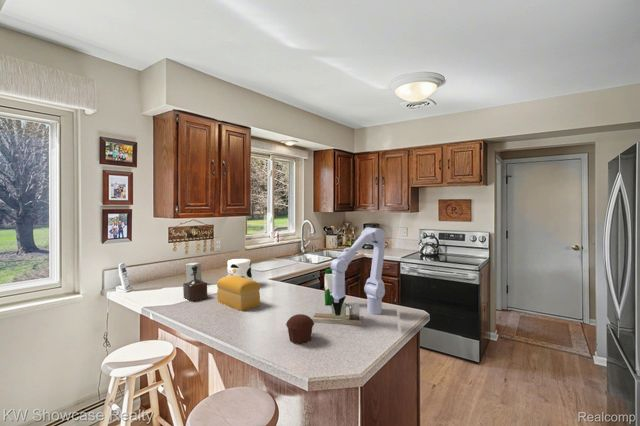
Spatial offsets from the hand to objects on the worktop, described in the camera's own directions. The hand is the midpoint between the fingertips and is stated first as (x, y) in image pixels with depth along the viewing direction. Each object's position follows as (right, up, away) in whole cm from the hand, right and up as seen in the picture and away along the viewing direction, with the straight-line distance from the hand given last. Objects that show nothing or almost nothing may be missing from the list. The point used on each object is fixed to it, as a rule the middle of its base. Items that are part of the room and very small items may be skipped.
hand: (338, 313), depth 150 cm
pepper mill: (-85, -4, +43) cm, 95 cm away
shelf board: (-1, -5, +2) cm, 5 cm away
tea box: (0, -2, 0) cm, 2 cm away
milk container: (-64, -3, +67) cm, 92 cm away
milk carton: (-2, -4, +26) cm, 26 cm away
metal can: (+7, -3, +2) cm, 8 cm away
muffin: (-17, -6, -18) cm, 25 cm away
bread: (-55, -4, +30) cm, 63 cm away
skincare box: (-96, -3, +70) cm, 118 cm away
